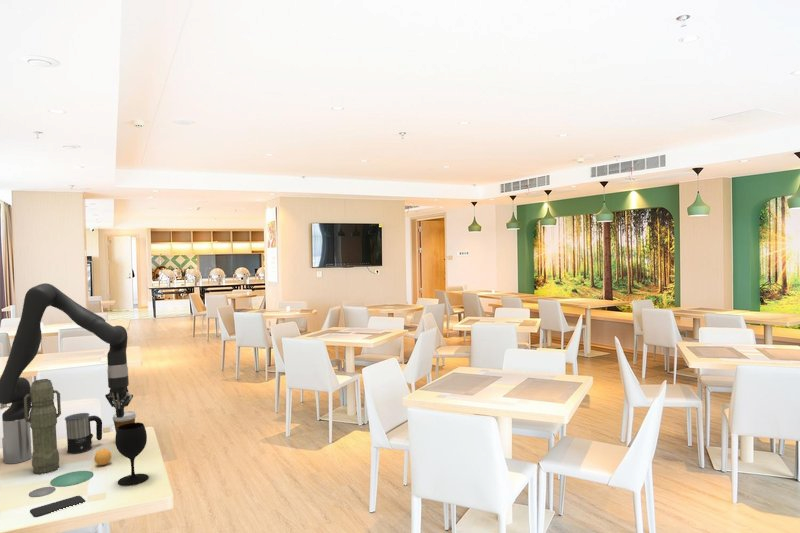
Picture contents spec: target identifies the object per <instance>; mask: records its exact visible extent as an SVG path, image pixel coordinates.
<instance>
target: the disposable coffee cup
mask: <svg viewBox="0 0 800 533" xmlns="http://www.w3.org/2000/svg"><path fill="white" fill-rule="evenodd" d="M136 417H137V414H136V412H135V411H124V416H123V417H121V418H117V416H116V413H114V414H113V417H112V422H113V423H114V424H113V425H114V430H115V432H116V431H117V428H118V427H119V426H121V425H124V424H128V423H136Z"/></svg>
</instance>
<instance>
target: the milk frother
mask: <svg viewBox="0 0 800 533" xmlns="http://www.w3.org/2000/svg"><path fill="white" fill-rule="evenodd" d="M64 420H65V425H66V426H65V428H66V437H67V438H66V440H67V443H66V444H67V451H66V453H67V454H81V453H85V452H87V451H90V450H91V449H92V448H93V446H92V439H93V438H94V434H93V433H91V432H92V431H91V428H92V427H91V422H93V421H94V422H95V424H96V427H95V428H96V432H95V433H96V435H95V436H96V440H97V441H101V440H102V438H103V420H102V418H101V417H99V416H98V415H90V413H88V412H79V413H73V414H70V415H67V416H65V417H64Z"/></svg>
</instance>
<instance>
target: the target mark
mask: <svg viewBox="0 0 800 533" xmlns="http://www.w3.org/2000/svg"><path fill="white" fill-rule="evenodd" d="M93 476H94V472H93V471H91V470H76V471H70V472H67V473H63V474H60V475H58V476H56V477H54V478H52V479H51V480H50V482H49V484H50V485H51V487H57V488H58V487H70V486H75V485H79V484H81V483H85V482H86V481H89V480H91V479H92V478H93Z"/></svg>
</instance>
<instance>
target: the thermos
mask: <svg viewBox="0 0 800 533" xmlns="http://www.w3.org/2000/svg"><path fill="white" fill-rule="evenodd" d="M30 387H31V388H30V393H29V394H27V395H26V396H25V397H24V410H25V420H26V422H29V423H30V430H31V440H32V457H31V465H32V473H33V474H34V475H45V473H46V474H50V473H53V472H56V471H57V470H58V468H59V469H60V452H59V449H58V441H57V423H58V418H59V417H60V416H61V415H62V408H61V393H60V392H59V391H58V390H57V389H54V386H53V383H52V380H51V379H48V378H42V379H36V380H34V381H32V382H31V384H30ZM54 394H56V400H57V402H56V403H57V404H56V405H57V406H55V401H54V399H55V395H54ZM28 397H31V409H30V412H29V416H30V418H29V419H28V410H27V398H28ZM56 407H57V408H56ZM49 472H50V473H49Z"/></svg>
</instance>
